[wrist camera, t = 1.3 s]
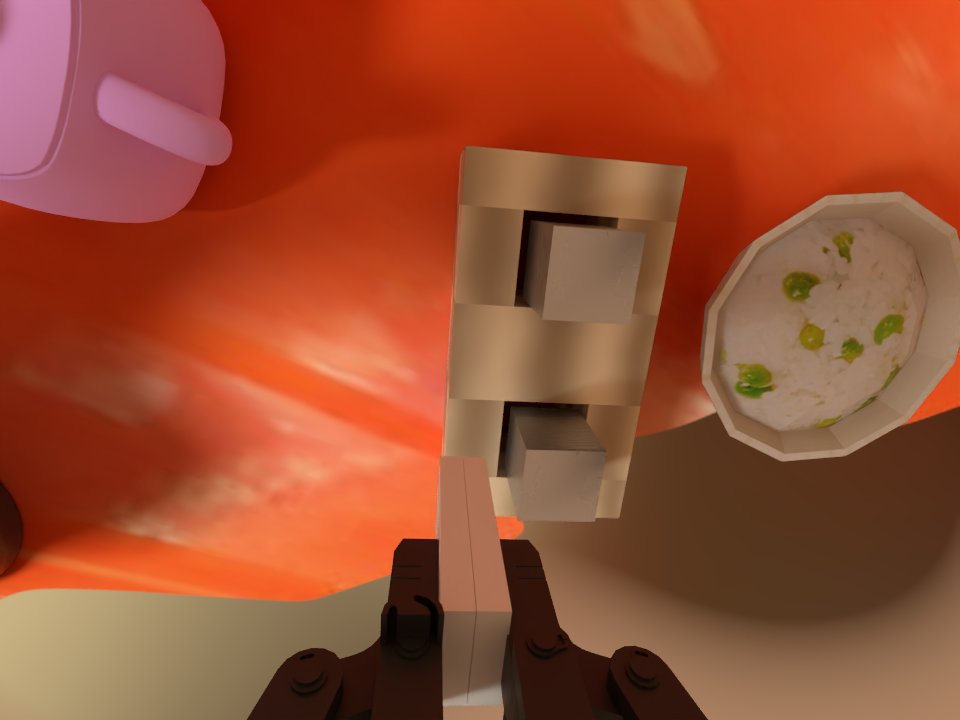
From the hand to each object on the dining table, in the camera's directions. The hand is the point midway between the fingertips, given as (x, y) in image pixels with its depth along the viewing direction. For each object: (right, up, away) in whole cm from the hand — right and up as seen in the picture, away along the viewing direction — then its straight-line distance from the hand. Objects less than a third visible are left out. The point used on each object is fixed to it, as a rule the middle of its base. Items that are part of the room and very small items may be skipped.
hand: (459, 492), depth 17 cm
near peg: (+6, +11, +16) cm, 20 cm away
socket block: (+5, +7, +24) cm, 25 cm away
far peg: (+5, -1, +20) cm, 21 cm away
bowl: (+24, +9, +25) cm, 36 cm away
